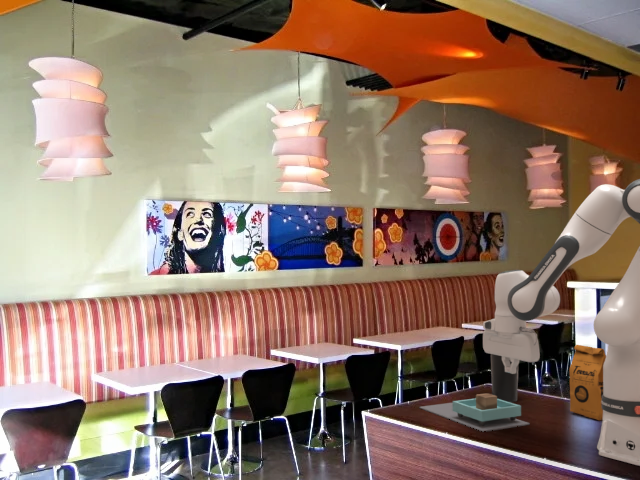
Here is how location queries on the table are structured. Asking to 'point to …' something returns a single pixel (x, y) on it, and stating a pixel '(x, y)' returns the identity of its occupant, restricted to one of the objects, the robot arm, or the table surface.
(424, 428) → the table surface
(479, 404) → the walnut block
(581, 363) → the coffee package
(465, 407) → the cyan square tray
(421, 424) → the table surface
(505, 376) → the water bottle
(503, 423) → the grey rectangular mat
